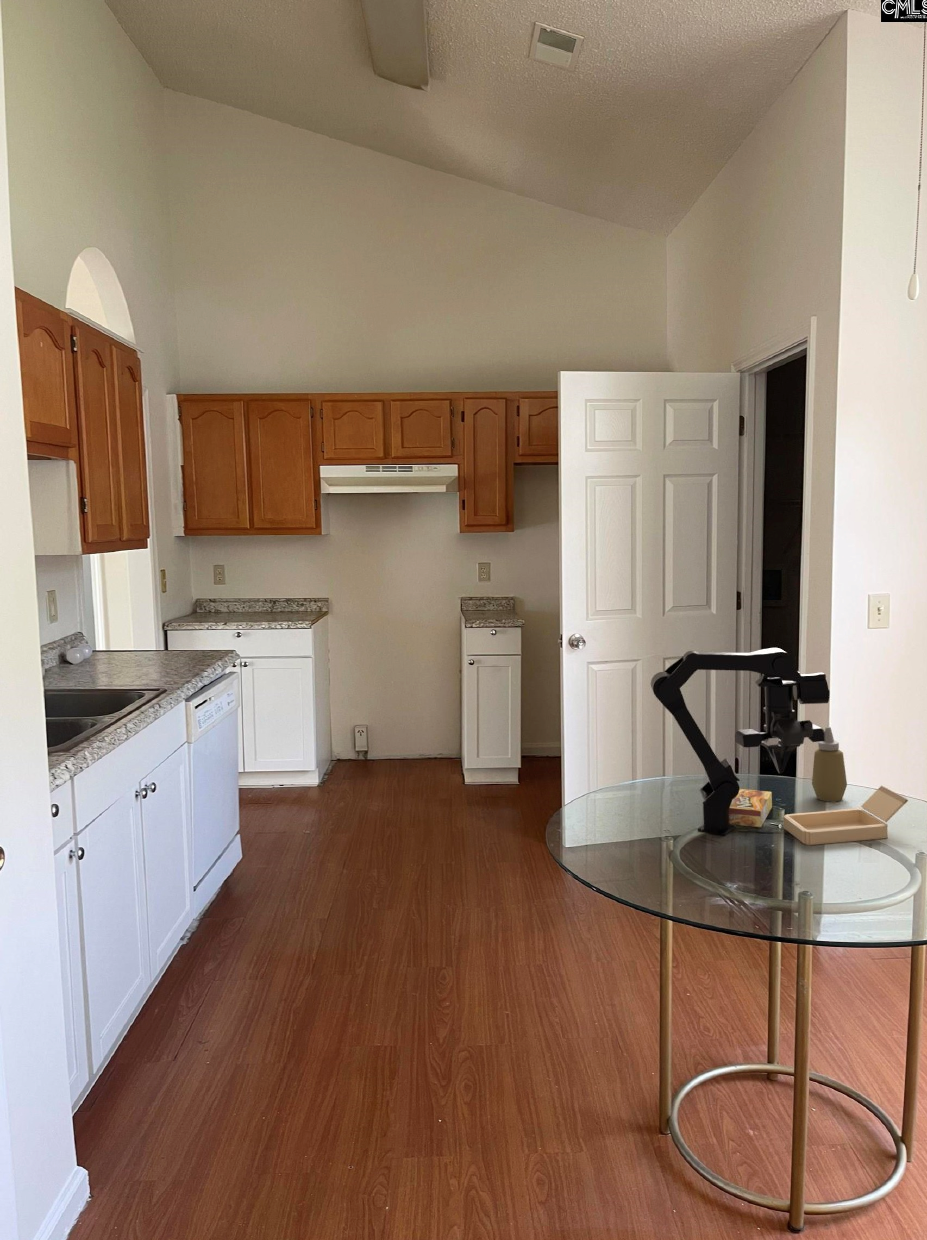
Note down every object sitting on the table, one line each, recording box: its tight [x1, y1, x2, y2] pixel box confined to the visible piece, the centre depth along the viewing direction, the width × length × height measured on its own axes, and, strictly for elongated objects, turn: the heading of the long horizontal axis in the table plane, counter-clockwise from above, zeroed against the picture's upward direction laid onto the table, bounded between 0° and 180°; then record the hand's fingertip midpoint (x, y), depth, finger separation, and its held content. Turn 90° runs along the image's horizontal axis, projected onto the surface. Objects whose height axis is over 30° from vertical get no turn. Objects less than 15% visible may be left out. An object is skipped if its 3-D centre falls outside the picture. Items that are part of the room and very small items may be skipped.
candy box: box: [729, 788, 773, 828], centre depth 208 cm, size 9×4×15 cm
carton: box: [782, 808, 888, 846], centre depth 193 cm, size 18×12×3 cm, turn 94°
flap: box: [860, 785, 909, 823], centre depth 194 cm, size 1×10×7 cm
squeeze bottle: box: [811, 726, 848, 802], centre depth 215 cm, size 8×8×18 cm
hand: (780, 772), depth 197 cm, fingers closed
